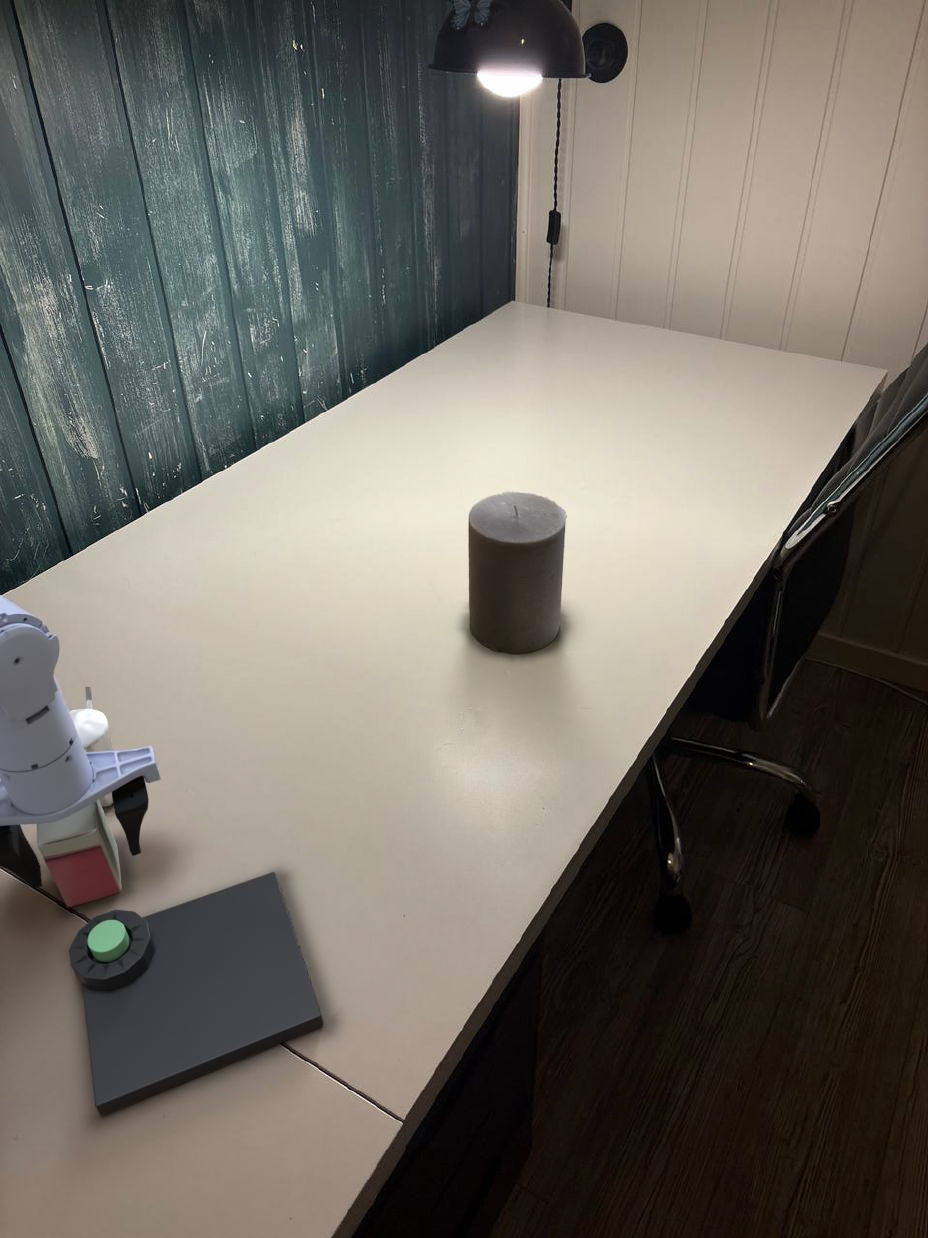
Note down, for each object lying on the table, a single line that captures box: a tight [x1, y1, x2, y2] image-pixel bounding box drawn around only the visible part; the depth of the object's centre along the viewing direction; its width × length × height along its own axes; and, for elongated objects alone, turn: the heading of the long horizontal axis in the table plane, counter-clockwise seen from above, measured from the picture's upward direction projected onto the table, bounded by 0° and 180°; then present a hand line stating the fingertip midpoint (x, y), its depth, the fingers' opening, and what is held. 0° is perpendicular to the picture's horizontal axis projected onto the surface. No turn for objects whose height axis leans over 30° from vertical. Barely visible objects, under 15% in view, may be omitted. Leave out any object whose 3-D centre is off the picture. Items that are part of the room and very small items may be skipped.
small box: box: [36, 799, 123, 908], centre depth 71 cm, size 5×4×8 cm
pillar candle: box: [467, 490, 568, 654], centre depth 94 cm, size 10×10×15 cm
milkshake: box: [69, 686, 115, 808], centre depth 78 cm, size 5×5×10 cm
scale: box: [68, 871, 324, 1116], centre depth 65 cm, size 15×13×3 cm
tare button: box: [88, 920, 130, 962], centre depth 66 cm, size 3×3×1 cm
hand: (86, 861), depth 73 cm, fingers open, 7 cm apart
